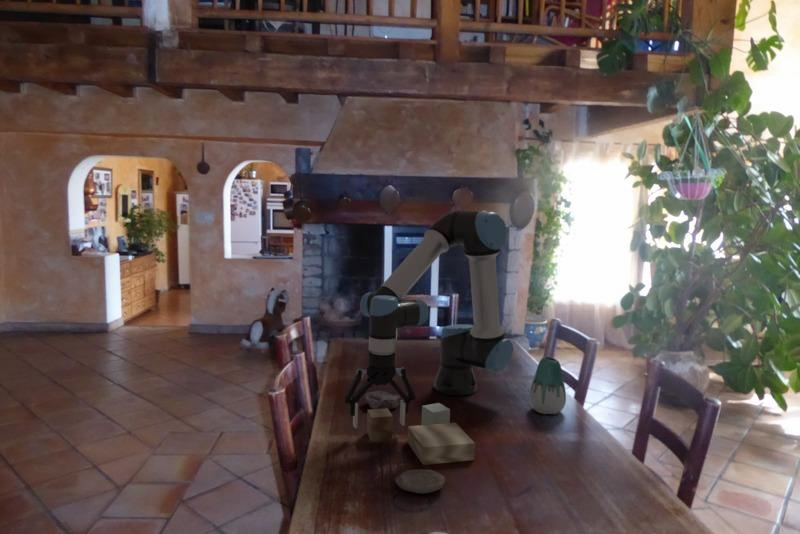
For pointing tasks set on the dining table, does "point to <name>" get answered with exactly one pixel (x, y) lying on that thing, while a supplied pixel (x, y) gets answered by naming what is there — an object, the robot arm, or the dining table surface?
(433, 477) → the fossil
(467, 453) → the plinth
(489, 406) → the dining table surface
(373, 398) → the rock
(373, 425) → the walnut block
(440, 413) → the grey green cube
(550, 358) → the vase
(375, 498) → the dining table surface
